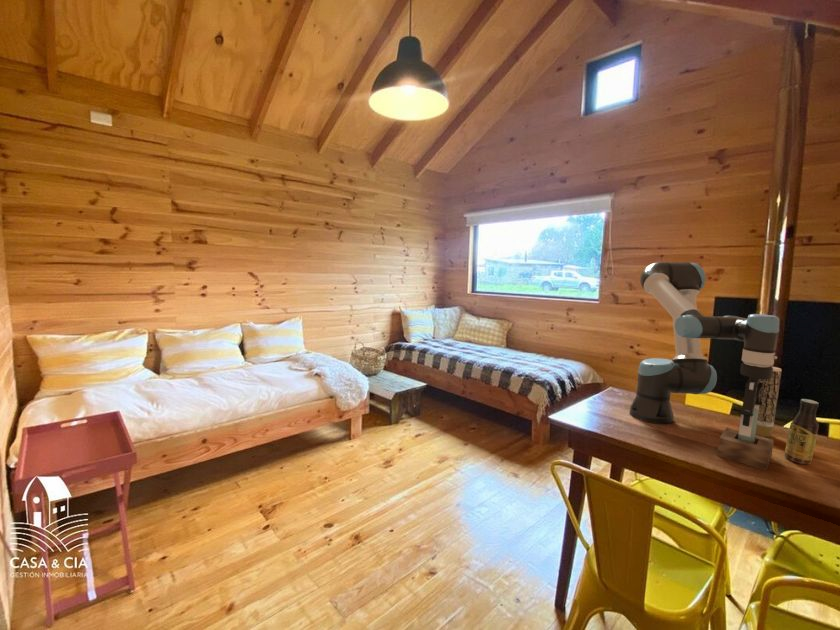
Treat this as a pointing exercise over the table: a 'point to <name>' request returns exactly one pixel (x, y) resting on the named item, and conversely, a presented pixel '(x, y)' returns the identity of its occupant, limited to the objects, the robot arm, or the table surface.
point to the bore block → (745, 449)
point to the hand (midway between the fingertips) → (747, 429)
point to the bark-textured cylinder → (768, 404)
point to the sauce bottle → (803, 433)
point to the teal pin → (753, 430)
